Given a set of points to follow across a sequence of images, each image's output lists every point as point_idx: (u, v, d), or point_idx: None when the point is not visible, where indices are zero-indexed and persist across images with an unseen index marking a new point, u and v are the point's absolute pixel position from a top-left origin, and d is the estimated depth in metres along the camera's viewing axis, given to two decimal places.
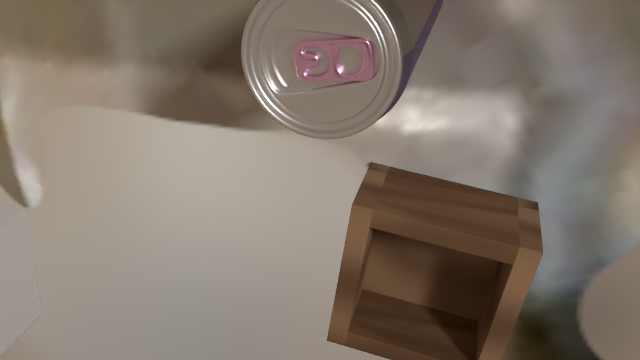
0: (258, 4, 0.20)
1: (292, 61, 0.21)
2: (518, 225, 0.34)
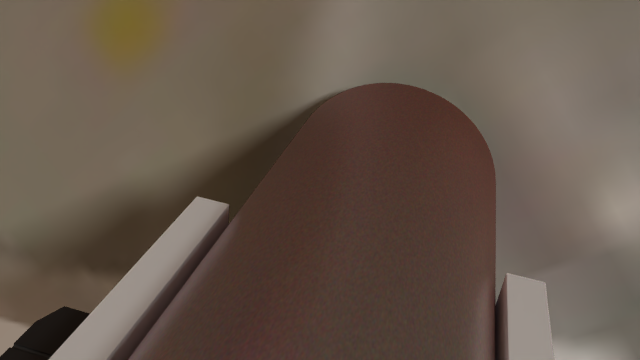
0: None
1: None
2: None
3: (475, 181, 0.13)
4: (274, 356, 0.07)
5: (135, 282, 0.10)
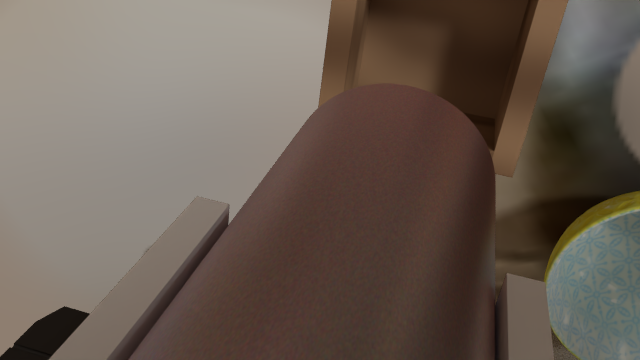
0: None
1: None
2: None
3: (475, 181, 0.13)
4: (273, 357, 0.07)
5: (135, 282, 0.10)
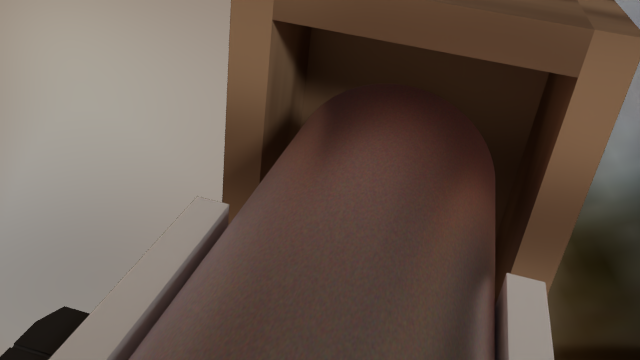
0: None
1: None
2: (582, 10, 0.16)
3: (475, 182, 0.13)
4: (273, 357, 0.07)
5: (135, 282, 0.10)
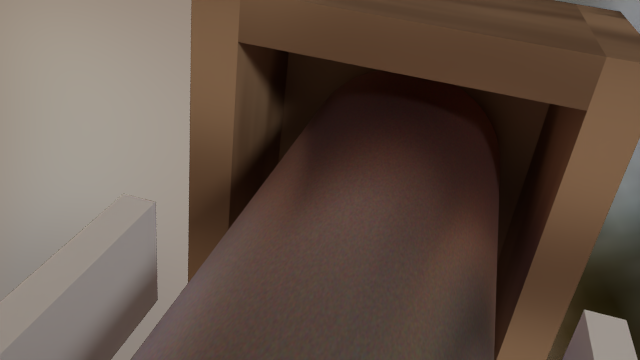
0: None
1: None
2: (590, 31, 0.14)
3: (480, 159, 0.15)
4: (304, 294, 0.08)
5: (40, 281, 0.10)
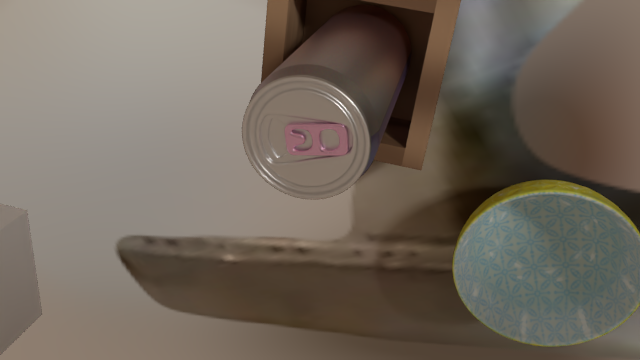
0: (256, 96, 0.25)
1: (283, 138, 0.26)
2: None
3: (396, 38, 0.33)
4: (328, 48, 0.27)
5: None
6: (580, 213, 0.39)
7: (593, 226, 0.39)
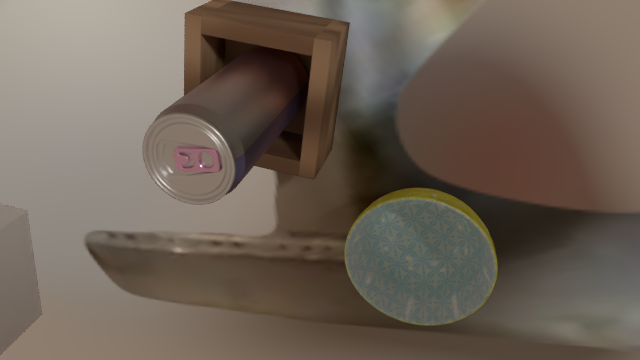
0: (150, 127, 0.33)
1: (174, 158, 0.34)
2: (322, 30, 0.41)
3: (287, 73, 0.42)
4: (213, 88, 0.35)
5: None
6: (453, 215, 0.47)
7: (464, 226, 0.47)
